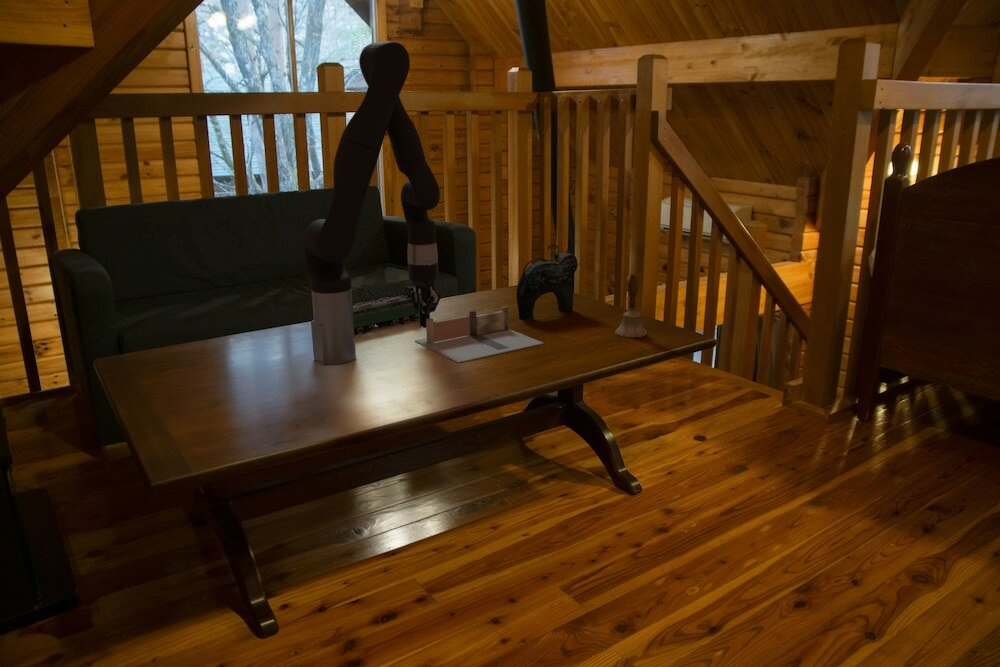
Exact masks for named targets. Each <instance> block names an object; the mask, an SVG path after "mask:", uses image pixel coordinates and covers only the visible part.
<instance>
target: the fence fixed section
mask: <svg viewBox="0 0 1000 667" xmlns="http://www.w3.org/2000/svg"><path fill="white" fill-rule="evenodd" d="M509 308H510V307H509V306H507V305H504V306H501V310H499V311H494V312H492V311H491V312H488V313H482V314H477V311H476V310H469V311H468V316H470V336H476V335H480V334H485V333H489V332H494V331H499V330H504V329H510V328H509V323H510V321H509V320H510V317H509V314H510V313H509V310H510V309H509Z"/></svg>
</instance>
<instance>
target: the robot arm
mask: <svg viewBox="0 0 1000 667" xmlns="http://www.w3.org/2000/svg"><path fill="white" fill-rule="evenodd" d="M358 60H359V61H358V62H359V68H360V71H361V75H362V77H363V79H364V81H365V83H366V85H367V89H366V93H365V95H364V97H363V100H362V102H361V103H360V105H359V107H358V108H357V109H356V111H355V113H353V116H351V118H350V119H349V121H348V123H347V124H346V126H345V127H344V129H343V131H342V133H341V136H340V139H339V143H338V146H337V149H336V153H335V156H334V160H333V170H332V172H333V175H332V176H333V192H332V193H333V194H332V199H331V203H330V206H329V209H328V212H327V214H326V217H325V218H322V219H321V218H319V219H317V220H314V221H312V222H311V223H310V224H309V225H308V226H307V227H306V229H305V232H304V237H303V249H304V258H305V266H306V273H307V277H308V280H309V281H310V288H311V289H310V290H311V300H312V314H313V315H312V316H313V319H312V320H311V321H310V326H311V327H310V329H311V339H312V352H313V354H312V355H313V359H314V360H315V361H317V362H318V363H319V364H321V365H323V366H325V365H340V364H344V363H349V362H352V361H354V360H355V359H356V358H357V353H356V351H357V350H356V349H357V348H356V337H355V333H354V320H353V306H354V304H353V294H352V293H353V292H352V279H351V276H350V274H349V273H348V271H347V268H346V266H345V262H344V261H345V260H346V259H347V258H348V257H349V256H350V255H351V253H352V251H353V250H354V249H353V248H354V246H355V245H354V244H355V242H356V238H357V237H356V236H357V231H358V227H359V222H360V217H361V214H362V209H363V206H364V202H365V199H366V197H367V193H368V190H369V186H370V184H371V180H372V177H373V174H374V171H375V168H376V166H377V163H378V160H379V156H380V153H381V150H382V145H383V143H384V138H385V136H386V133H387V136H388V139H389V142H390V146H391V149H392V152H393V156H394V159H395V162H396V163H395V164H396V165H397V169H398V170H399V172H400V173H401V174H403V176H404V175H405V177H406V178H407V181H406V182H404V184H403V186H402V188H401V191H400V202H401V208H402V211H403V215H404V219H405V222H406V224H407V271H408V272H407V274H408V275H407V276H408V279H409V280H410V281H412V286H410V287H411V288H408V289H407V291H409V292H408V293H409V294H410V297H411V299H412V302H413V305H414V307H415V309H418V312H419V313H420V320H419V326H420V327H421V328H423V329H424V328H426V319H428V318H431V313H434V312H435V311H436V309H437V308H438V305H439V303H440V300H441V295H439V294H437V293H436V287H435V281H436V280H438V278H439V259H438V258H439V256H438V248H437V246H438V245H437V231H436V230H437V228H436V227H437V226H436V223H435V221H434V220H433V219H432V218H431V217H430V216H429V215H428V211H431V210H434V209H435V208H436V207H437V206H438V205H439V202H440V198H441V190H440V186H439V184H438V182H437V179H436V177H435V175H434V173H433V171H432V169H431V167H430V166H429V163H428V162H427V160H426V156H425V152H424V148H423V145H422V141H421V139H420V135H419V132H418V131H417V128H416V126H415V124H414V123H413V120H412V118H410V116H409V114H408V112H407V111H406V109H405V107H404V104H403V102H402V101H401V98H400V94H401V92H402V89H403V87H404V85H405V83H406V80H407V78H408V75H409V70H410V66H411V61H410V55H409V52H408V50H407V49H406V47H405V46H404V45H403V44H401V43H400V42H397V41H379V42H378V41H377V42H372V43H369V44H367V45H365V47H363V48H362V50H361V52H360V54H359V58H358Z"/></svg>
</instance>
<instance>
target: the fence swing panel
mask: <svg viewBox="0 0 1000 667" xmlns="http://www.w3.org/2000/svg"><path fill="white" fill-rule="evenodd" d="M425 332H426V338H427V343H434V342H438V341H443V340H448V339H453V338H457V337H462V336H467V335H470V316H469V315H463V316H457V317H453V318H446V319H441V320H437V321H434V318H431V317H430V318H428V319H426V331H425Z"/></svg>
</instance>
